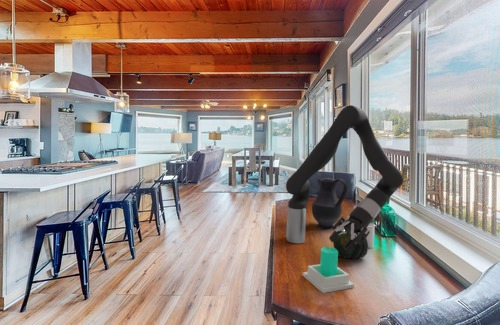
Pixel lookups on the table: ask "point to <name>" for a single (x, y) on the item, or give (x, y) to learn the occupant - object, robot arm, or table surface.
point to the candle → (328, 261)
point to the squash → (355, 251)
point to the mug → (370, 235)
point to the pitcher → (328, 203)
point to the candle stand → (327, 279)
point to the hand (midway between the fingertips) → (337, 244)
